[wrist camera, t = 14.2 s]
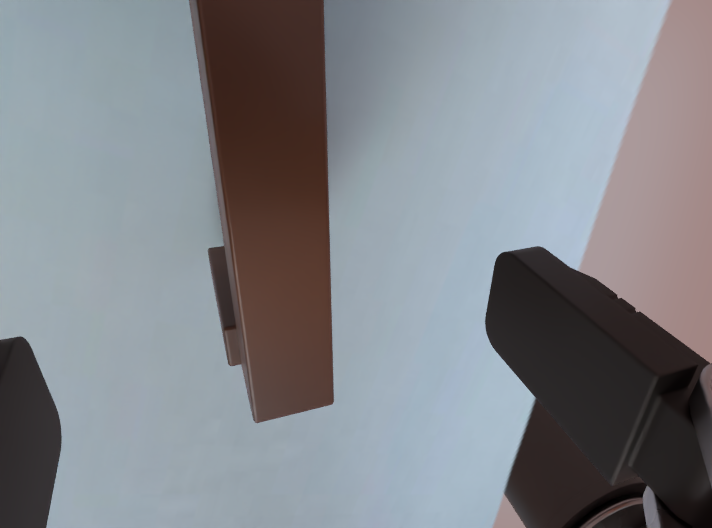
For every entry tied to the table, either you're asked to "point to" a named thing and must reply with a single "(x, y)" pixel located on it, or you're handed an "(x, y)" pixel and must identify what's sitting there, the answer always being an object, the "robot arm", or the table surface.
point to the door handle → (270, 195)
